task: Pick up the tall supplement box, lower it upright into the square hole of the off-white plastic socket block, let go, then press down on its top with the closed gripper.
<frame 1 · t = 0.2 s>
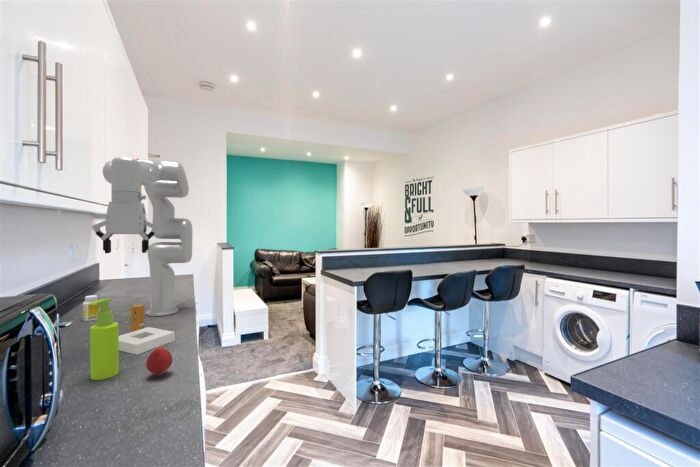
hand: (126, 252, 100), 31 cm above the countertop, tool pointing down, fingers open, 9 cm apart
socket block: (143, 344, 105), on the countertop
supplement bottle: (91, 319, 132), on the countertop
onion: (159, 376, 84), on the countertop
soap dispenser: (103, 376, 83), on the countertop
supplement box: (137, 333, 117), on the countertop
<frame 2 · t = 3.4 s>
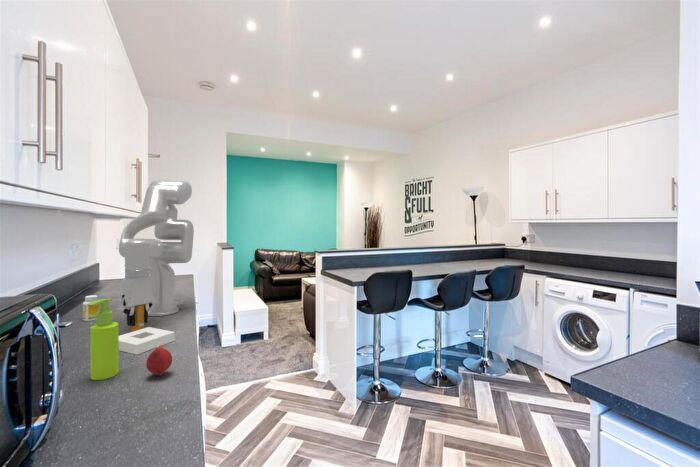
hand: (137, 323, 117), 3 cm above the countertop, tool pointing down, fingers closed on supplement box, 4 cm apart
supplement box: (137, 333, 117), on the countertop, touching gripper
everything else where it was.
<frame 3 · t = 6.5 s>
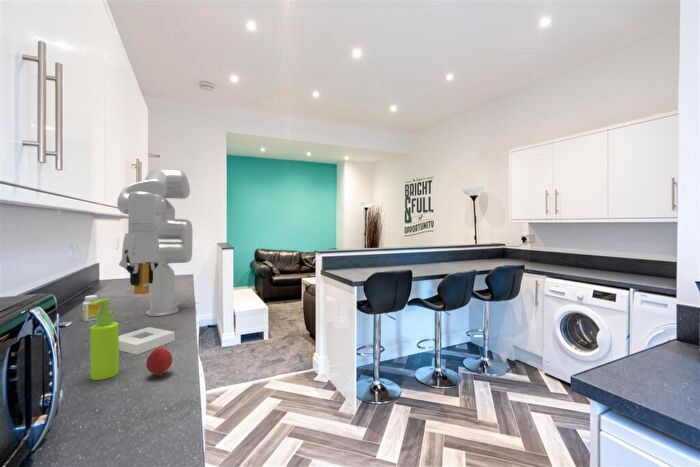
hand: (141, 283, 106), 20 cm above the countertop, tool pointing down, fingers closed on supplement box, 4 cm apart
supplement box: (141, 294, 106), point 16 cm above the countertop, touching gripper
everything else where it was.
when the fingers open (5 cm above the countertop, at t = 9.8 s): supplement box drops 1 cm, resting on socket block.
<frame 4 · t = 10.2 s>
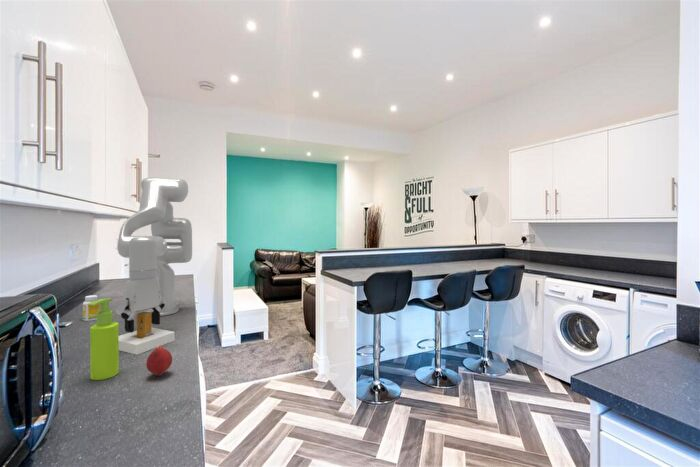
hand: (143, 327, 105), 6 cm above the countertop, tool pointing down, fingers open, 8 cm apart
supplement box: (144, 343, 106), resting on socket block
everything else where it was.
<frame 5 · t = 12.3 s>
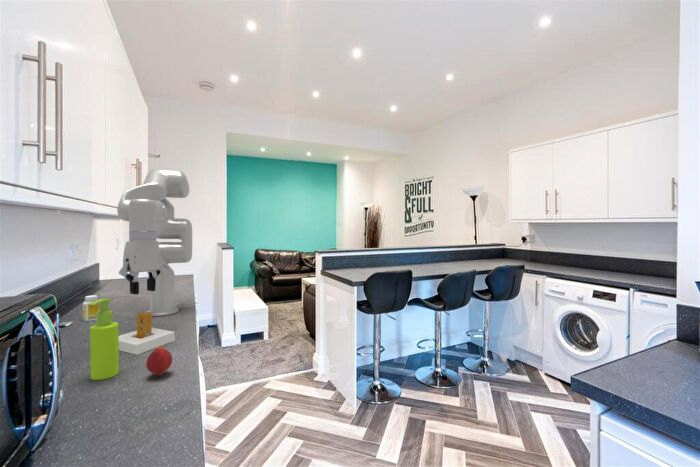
hand: (143, 291, 105), 17 cm above the countertop, tool pointing down, fingers open, 4 cm apart
nothing on the countertop moved.
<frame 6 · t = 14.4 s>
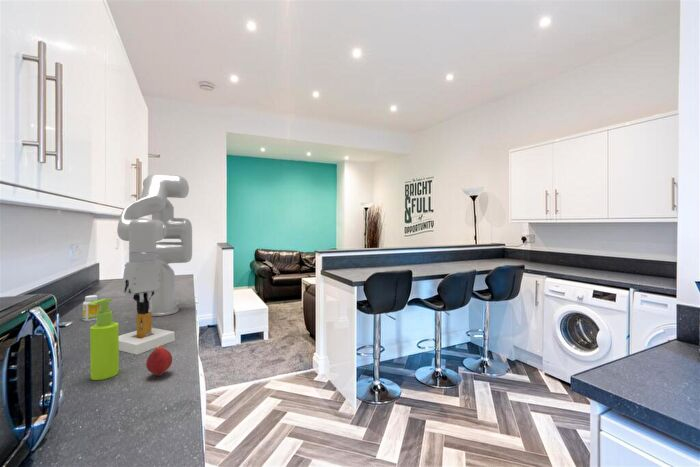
hand: (142, 313, 105), 10 cm above the countertop, tool pointing down, fingers closed
supplement box: (144, 343, 106), resting on socket block, touching gripper
everything else where it was.
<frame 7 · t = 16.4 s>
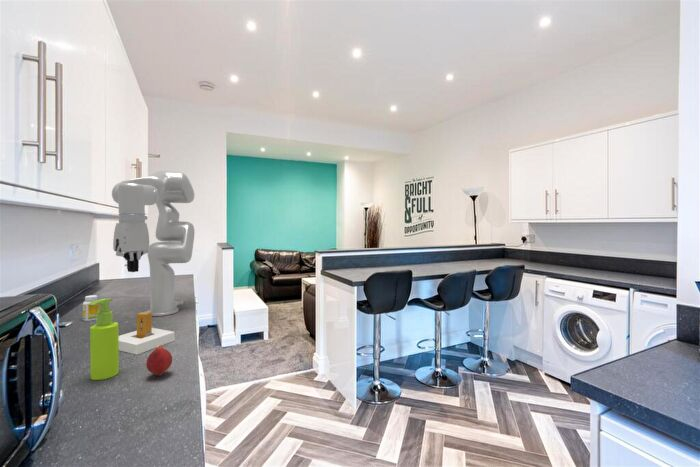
hand: (133, 271, 112), 23 cm above the countertop, tool pointing down, fingers closed
supplement box: (144, 343, 106), resting on socket block
everything else where it was.
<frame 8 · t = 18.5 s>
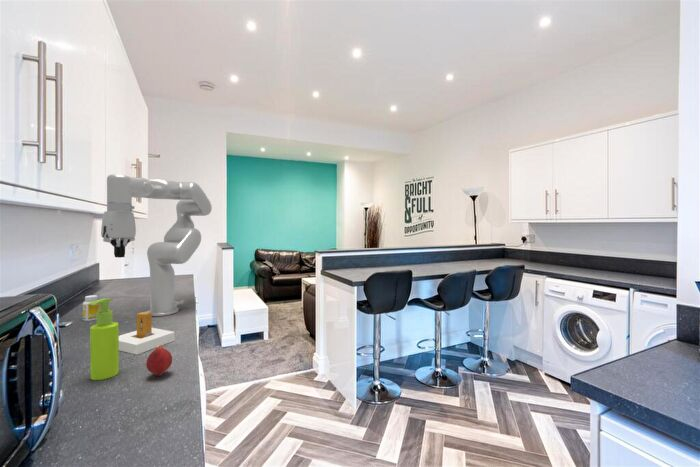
hand: (119, 257, 120), 27 cm above the countertop, tool pointing down, fingers closed
nothing on the countertop moved.
at the end: supplement box 0.5 cm off-centre on the socket block, point 0.1 cm above the socket block's base; supplement box tilted 0°; the gripper is holding nothing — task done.
